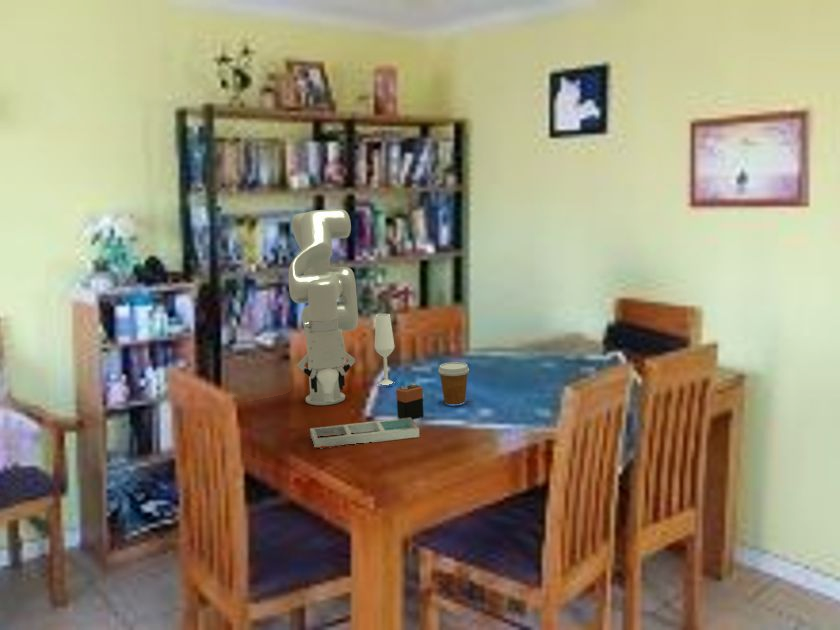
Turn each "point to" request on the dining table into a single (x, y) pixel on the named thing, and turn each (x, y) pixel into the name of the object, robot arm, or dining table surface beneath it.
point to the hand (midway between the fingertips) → (328, 389)
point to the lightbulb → (327, 381)
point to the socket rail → (383, 429)
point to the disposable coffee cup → (454, 381)
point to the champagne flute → (384, 341)
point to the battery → (410, 401)
